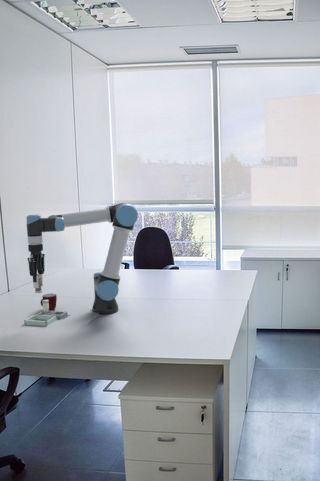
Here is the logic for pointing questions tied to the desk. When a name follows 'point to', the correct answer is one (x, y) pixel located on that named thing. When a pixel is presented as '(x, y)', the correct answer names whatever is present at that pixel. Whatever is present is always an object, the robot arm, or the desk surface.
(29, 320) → the tray
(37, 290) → the fuse
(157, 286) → the desk surface
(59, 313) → the block
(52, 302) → the mug
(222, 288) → the desk surface
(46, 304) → the fuse
